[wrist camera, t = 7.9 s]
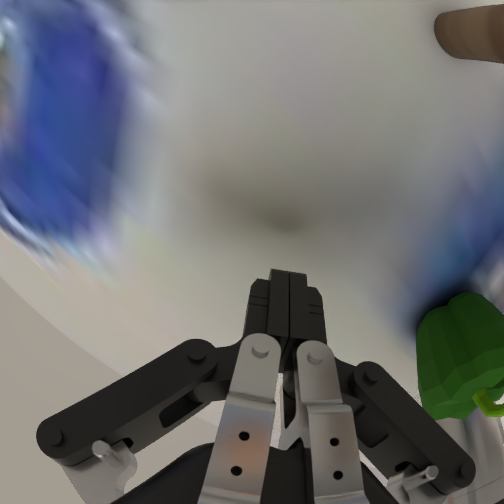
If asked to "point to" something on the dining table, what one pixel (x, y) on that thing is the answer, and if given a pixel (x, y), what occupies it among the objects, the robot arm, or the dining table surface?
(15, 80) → the dining table surface
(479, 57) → the post
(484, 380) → the bell pepper
